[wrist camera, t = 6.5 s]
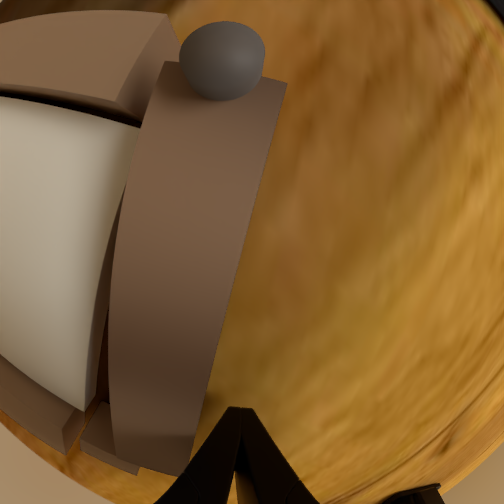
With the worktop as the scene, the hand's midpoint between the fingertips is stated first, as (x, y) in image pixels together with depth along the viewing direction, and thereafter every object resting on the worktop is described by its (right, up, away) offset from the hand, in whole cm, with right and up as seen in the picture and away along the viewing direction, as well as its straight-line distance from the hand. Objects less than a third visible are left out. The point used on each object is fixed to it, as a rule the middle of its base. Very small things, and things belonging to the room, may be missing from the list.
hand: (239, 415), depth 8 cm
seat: (-9, +6, 0) cm, 11 cm away
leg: (-2, +4, 0) cm, 5 cm away
